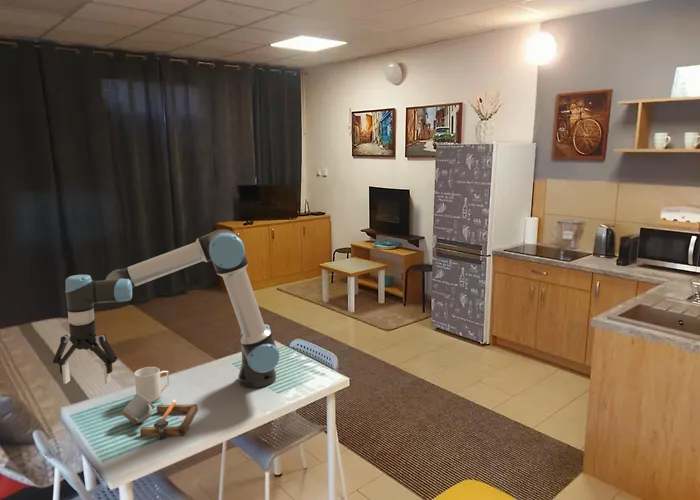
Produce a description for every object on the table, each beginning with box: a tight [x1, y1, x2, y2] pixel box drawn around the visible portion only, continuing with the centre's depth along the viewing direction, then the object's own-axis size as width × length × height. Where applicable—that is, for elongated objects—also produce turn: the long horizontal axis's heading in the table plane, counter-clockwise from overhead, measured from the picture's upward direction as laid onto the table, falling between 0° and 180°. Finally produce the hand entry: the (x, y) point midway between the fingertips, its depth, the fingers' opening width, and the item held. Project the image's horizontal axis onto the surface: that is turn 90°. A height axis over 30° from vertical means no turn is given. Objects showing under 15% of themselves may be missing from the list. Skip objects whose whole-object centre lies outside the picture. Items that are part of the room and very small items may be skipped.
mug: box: [133, 366, 170, 404], centre depth 185 cm, size 12×9×11 cm
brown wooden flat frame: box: [139, 403, 199, 437], centre depth 167 cm, size 14×16×2 cm
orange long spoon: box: [155, 399, 178, 426], centre depth 164 cm, size 3×16×1 cm, turn 2°
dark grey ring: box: [153, 420, 169, 441], centre depth 158 cm, size 4×4×5 cm
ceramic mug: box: [121, 393, 155, 425], centre depth 166 cm, size 11×8×8 cm
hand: (87, 382), depth 164 cm, fingers open, 13 cm apart
